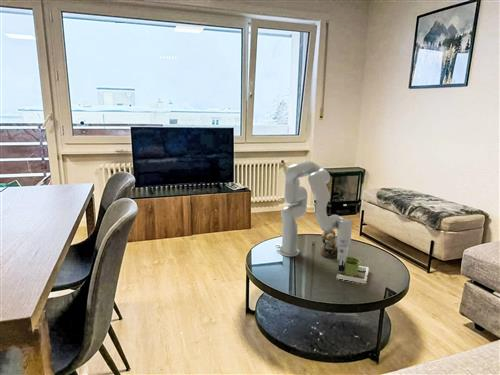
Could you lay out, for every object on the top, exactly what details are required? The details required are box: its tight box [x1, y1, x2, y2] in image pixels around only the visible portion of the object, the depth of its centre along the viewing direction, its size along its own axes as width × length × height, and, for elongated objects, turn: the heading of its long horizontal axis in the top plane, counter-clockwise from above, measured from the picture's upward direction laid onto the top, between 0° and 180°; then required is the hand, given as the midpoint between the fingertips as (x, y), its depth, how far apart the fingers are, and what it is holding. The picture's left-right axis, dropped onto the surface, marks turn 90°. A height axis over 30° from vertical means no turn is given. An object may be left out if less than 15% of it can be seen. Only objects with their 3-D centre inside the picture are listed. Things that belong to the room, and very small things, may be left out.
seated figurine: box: [320, 229, 338, 259], centre depth 214 cm, size 18×12×17 cm, turn 168°
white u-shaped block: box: [336, 265, 370, 284], centre depth 189 cm, size 15×15×3 cm
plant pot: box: [344, 256, 361, 277], centre depth 189 cm, size 9×9×9 cm
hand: (341, 270), depth 192 cm, fingers closed
